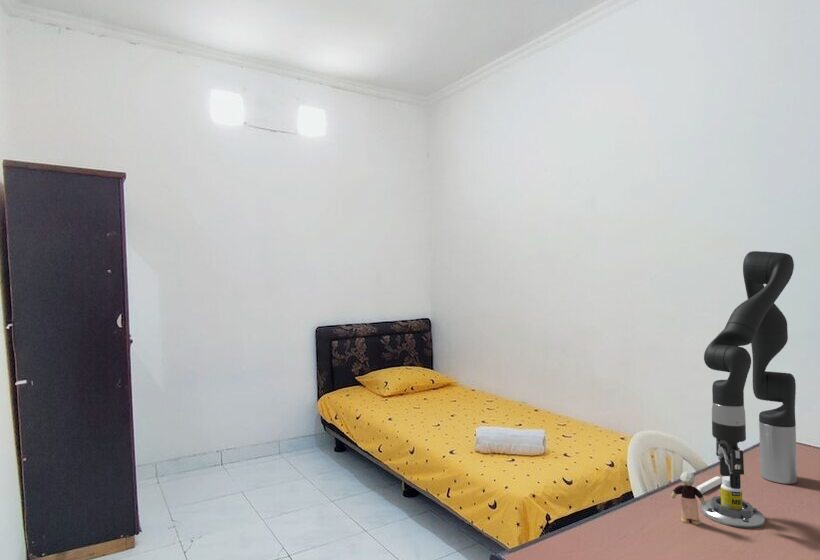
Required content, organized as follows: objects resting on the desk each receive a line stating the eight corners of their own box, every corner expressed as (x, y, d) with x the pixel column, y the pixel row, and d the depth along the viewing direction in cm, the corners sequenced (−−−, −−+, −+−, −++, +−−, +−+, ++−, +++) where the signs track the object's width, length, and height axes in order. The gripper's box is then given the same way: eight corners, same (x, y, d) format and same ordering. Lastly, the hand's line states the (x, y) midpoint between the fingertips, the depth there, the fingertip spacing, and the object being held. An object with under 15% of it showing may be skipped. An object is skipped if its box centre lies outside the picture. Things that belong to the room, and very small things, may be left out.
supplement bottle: (733, 516, 127) (732, 483, 127) (716, 508, 131) (716, 476, 132) (746, 513, 128) (746, 480, 129) (730, 505, 133) (729, 474, 133)
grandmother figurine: (703, 519, 128) (702, 470, 128) (707, 526, 124) (706, 476, 124) (670, 515, 130) (669, 467, 130) (673, 522, 126) (672, 472, 127)
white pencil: (694, 499, 143) (718, 484, 152) (700, 497, 141) (724, 483, 151) (689, 489, 144) (713, 476, 153) (695, 488, 142) (719, 474, 152)
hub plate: (710, 499, 140) (710, 488, 140) (770, 515, 129) (770, 503, 129) (693, 515, 130) (693, 503, 130) (757, 534, 120) (756, 521, 120)
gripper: (754, 429, 123) (756, 494, 122) (735, 414, 136) (737, 472, 136) (720, 427, 125) (721, 491, 125) (705, 412, 138) (706, 470, 138)
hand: (729, 481), depth 130 cm, fingers open, 8 cm apart
